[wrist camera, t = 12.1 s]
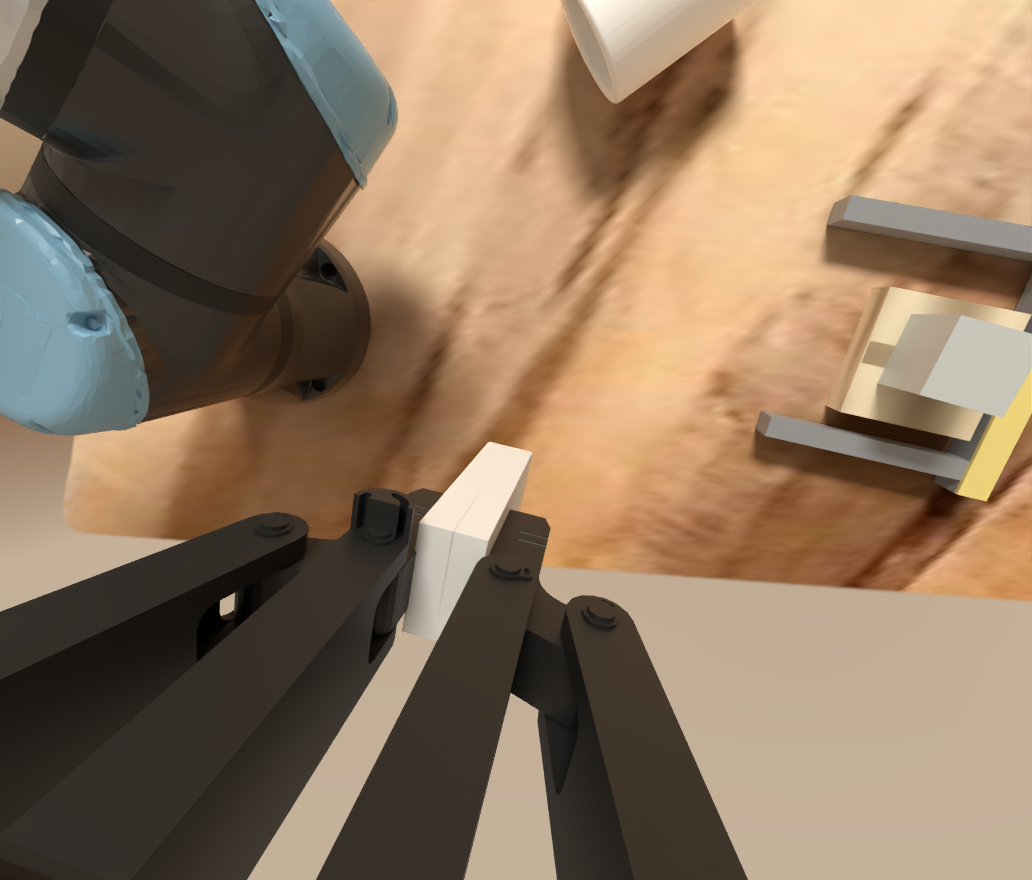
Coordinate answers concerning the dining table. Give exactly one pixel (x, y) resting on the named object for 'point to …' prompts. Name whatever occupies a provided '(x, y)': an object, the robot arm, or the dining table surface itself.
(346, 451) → the dining table surface
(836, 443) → the dock
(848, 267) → the dining table surface
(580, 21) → the mug
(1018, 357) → the light grey cube
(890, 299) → the pallet
